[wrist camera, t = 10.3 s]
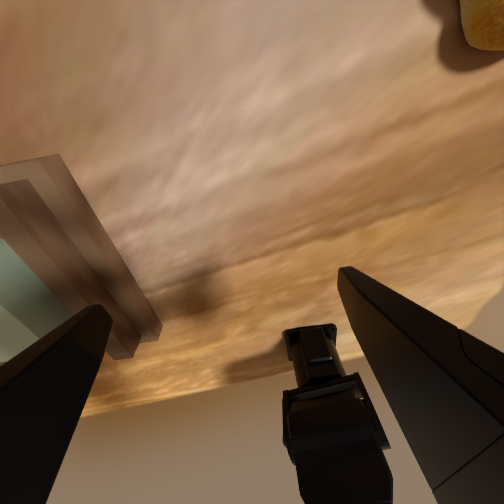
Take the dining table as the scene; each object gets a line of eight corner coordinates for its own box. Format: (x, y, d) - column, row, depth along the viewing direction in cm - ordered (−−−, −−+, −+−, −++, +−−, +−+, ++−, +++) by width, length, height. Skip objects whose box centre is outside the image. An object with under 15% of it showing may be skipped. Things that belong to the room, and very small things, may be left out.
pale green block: (84, 318, 23) (57, 354, 20) (31, 326, 24) (-4, 362, 20) (11, 237, 18) (-42, 267, 14) (-56, 249, 18) (-123, 281, 15)
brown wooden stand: (162, 326, 27) (150, 361, 24) (28, 344, 28) (-5, 381, 25) (58, 153, 16) (3, 168, 13) (-154, 195, 17) (-263, 220, 14)
